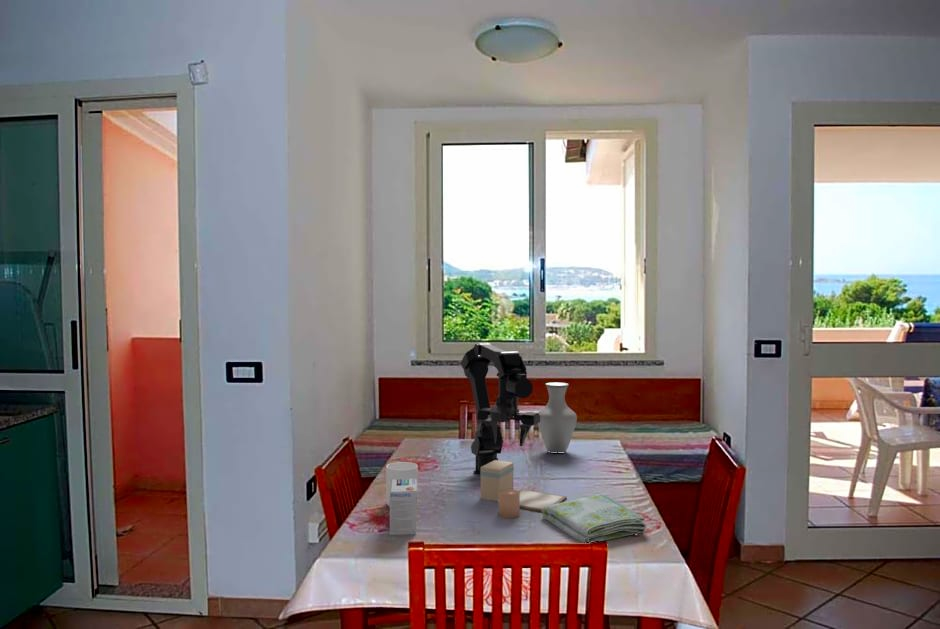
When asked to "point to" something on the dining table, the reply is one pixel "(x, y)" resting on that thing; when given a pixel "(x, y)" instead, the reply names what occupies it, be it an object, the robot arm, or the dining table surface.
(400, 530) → the light bulb box
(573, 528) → the towel
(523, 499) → the picture frame
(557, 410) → the vase
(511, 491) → the wooden cylinder
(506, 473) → the carton
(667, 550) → the dining table surface
